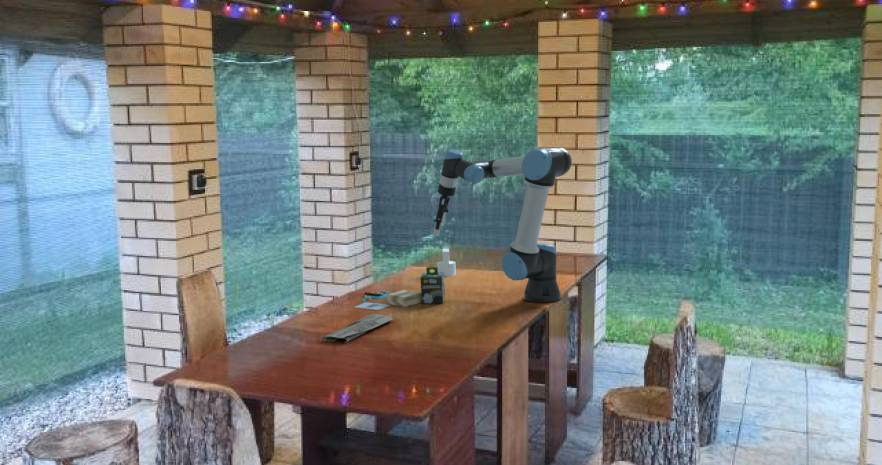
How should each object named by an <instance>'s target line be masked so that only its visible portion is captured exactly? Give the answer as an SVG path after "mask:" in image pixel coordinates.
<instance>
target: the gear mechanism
mask: <svg viewBox="0 0 882 465" xmlns="http://www.w3.org/2000/svg"><path fill="white" fill-rule="evenodd" d="M379 287H380V286H379V285H377V291H372V292H364V296H363V299H362V300H361V302H363V303H366V302H367V301H371V300H373V299H375V300H381V299H383V298H387V294H390V290H383V289H382V290H380V288H379Z"/></svg>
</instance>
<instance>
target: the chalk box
mask: <svg viewBox="0 0 882 465" xmlns="http://www.w3.org/2000/svg"><path fill="white" fill-rule="evenodd" d="M425 269H426V272H423V273H422V274H421V276H420V278H419V279H420V293H421V300H422V302H421V304H422V305H424V304H432V305H433V304H435V305H436V304H437V305H441V304H444V302H445V300H446V290H445V289H446V288H445V287H446V285H445V277H444V272H438V268H437V266H428V267H426V268H425ZM431 270H433V272H431Z"/></svg>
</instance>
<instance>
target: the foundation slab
mask: <svg viewBox="0 0 882 465" xmlns="http://www.w3.org/2000/svg"><path fill="white" fill-rule="evenodd" d="M386 295H387V296H386V299H387V300H386V301H387V304H386V305H390V306H391V305H393V306H399V307H404V308H406V307H410V306H413V305H417V304H420V303H421V304H422V299H421V292H418V291H411V290H405V289H402V290H399V291H396V292H391V293H390V292H389V293H388V294H386Z"/></svg>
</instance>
